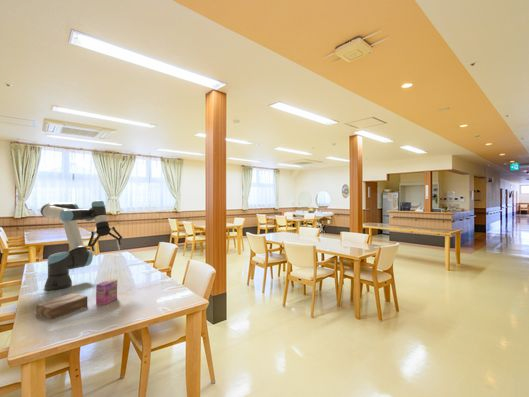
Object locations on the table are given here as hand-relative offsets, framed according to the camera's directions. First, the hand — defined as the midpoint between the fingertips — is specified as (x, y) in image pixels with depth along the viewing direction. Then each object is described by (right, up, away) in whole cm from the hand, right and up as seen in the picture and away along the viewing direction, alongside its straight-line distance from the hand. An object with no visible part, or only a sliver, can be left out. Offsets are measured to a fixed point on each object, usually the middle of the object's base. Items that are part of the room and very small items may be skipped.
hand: (108, 252), depth 177 cm
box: (+10, -26, -19) cm, 33 cm away
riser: (-7, -26, -31) cm, 41 cm away
